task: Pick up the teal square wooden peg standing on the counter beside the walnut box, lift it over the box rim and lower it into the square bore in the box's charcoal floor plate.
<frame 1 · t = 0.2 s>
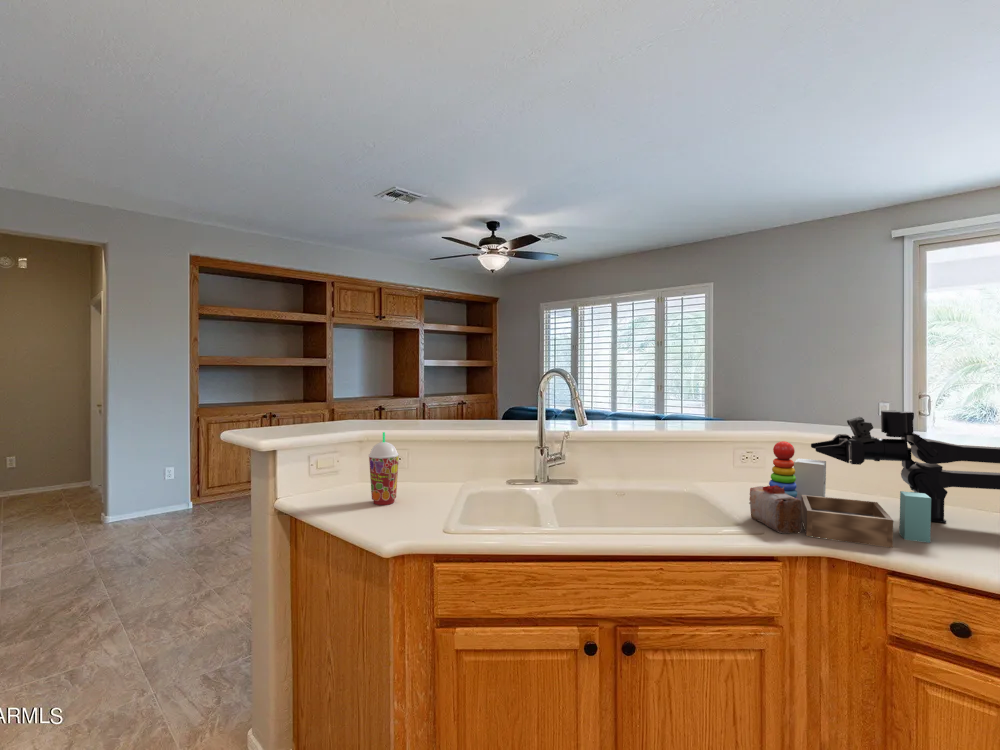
hand: (813, 447, 143), 17 cm above the worktop, tool horizontal, fingers open, 9 cm apart
weathered brown brick: (774, 525, 127), on the worktop
bore box: (842, 531, 122), on the worktop
supplement box: (809, 506, 144), on the worktop
stacking toy: (782, 510, 140), on the worktop
peg: (914, 538, 118), on the worktop
smoothie: (384, 503, 146), on the worktop
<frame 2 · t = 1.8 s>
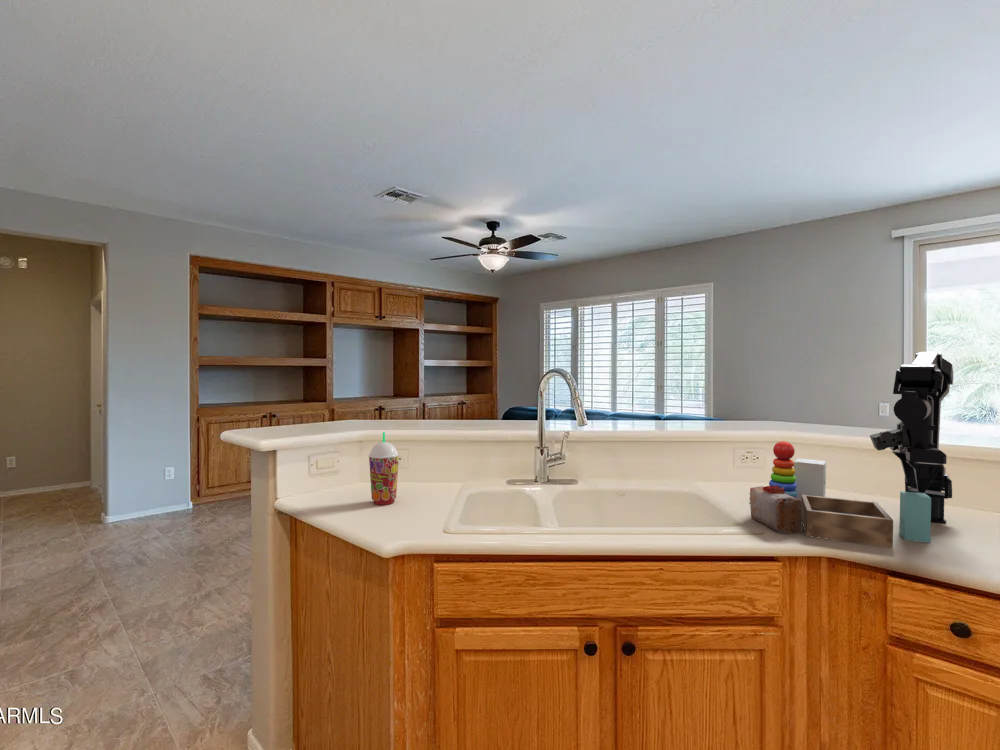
hand: (915, 487, 117), 11 cm above the worktop, tool pointing down, fingers open, 9 cm apart
nothing on the worktop moved.
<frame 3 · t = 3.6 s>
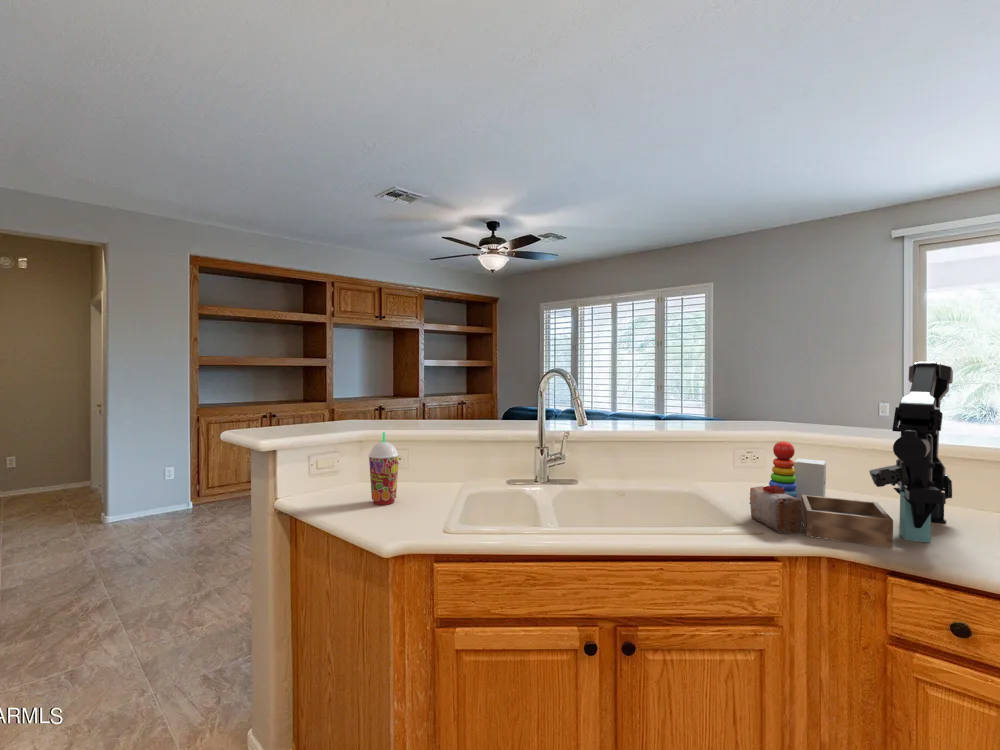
hand: (914, 524, 118), 3 cm above the worktop, tool pointing down, fingers closed on peg, 5 cm apart
peg: (914, 537, 118), on the worktop, touching gripper
everything else where it was.
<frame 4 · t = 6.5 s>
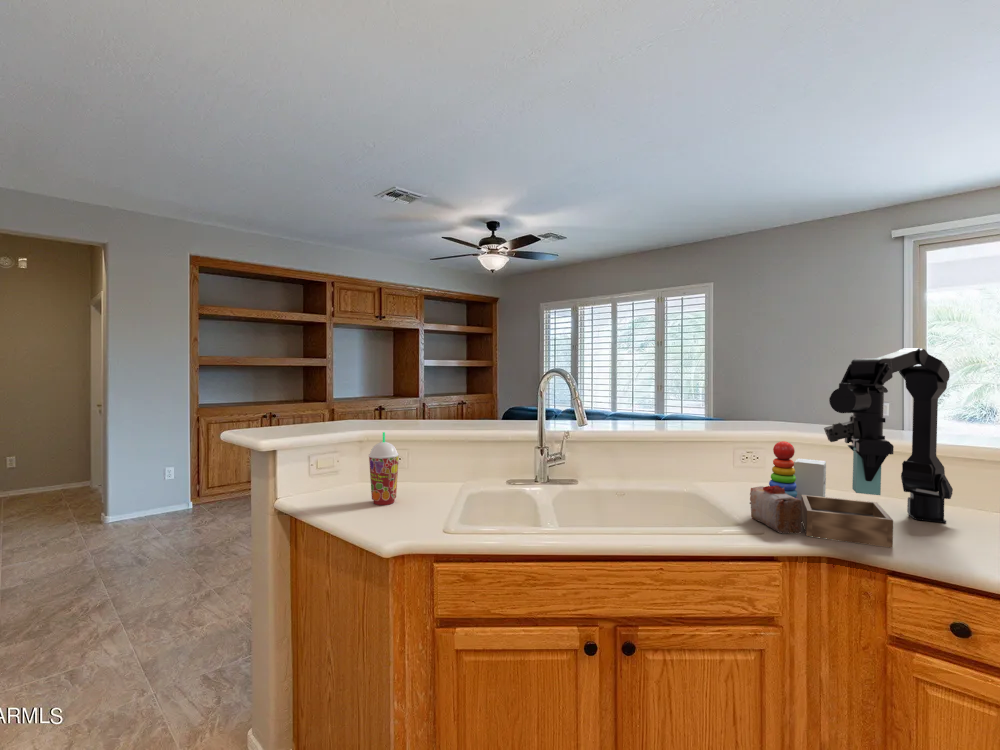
hand: (866, 479, 120), 13 cm above the worktop, tool pointing down, fingers closed on peg, 5 cm apart
peg: (866, 492, 120), point 10 cm above the worktop, touching gripper
everything else where it was.
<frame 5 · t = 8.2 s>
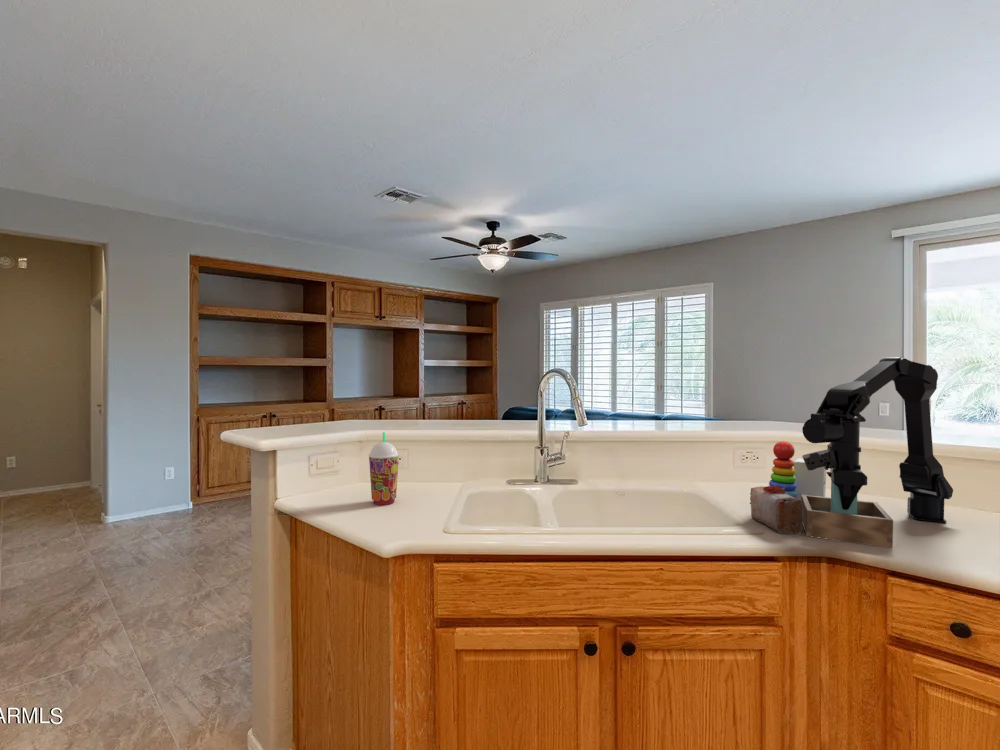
hand: (843, 506, 122), 6 cm above the worktop, tool pointing down, fingers closed on peg, 5 cm apart
peg: (843, 519, 122), point 3 cm above the worktop, touching gripper
everything else where it was.
when the fingers open (5 cm above the worktop, at t = 9.4 s): peg drops 2 cm, resting in bore box.
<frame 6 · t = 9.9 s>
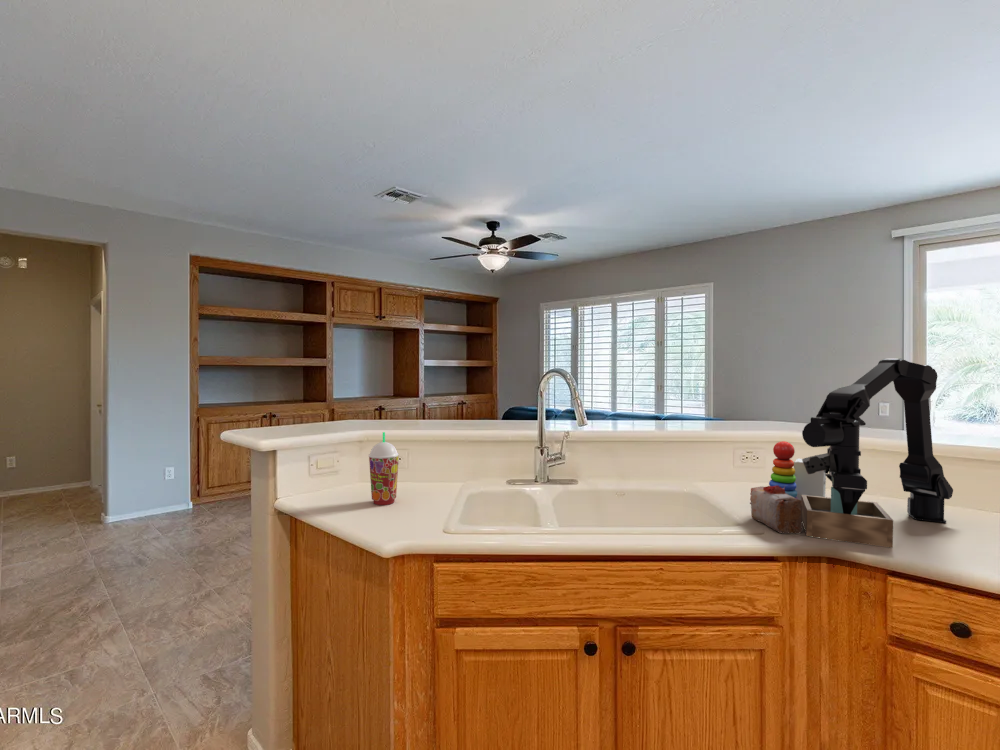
hand: (843, 510, 122), 5 cm above the worktop, tool pointing down, fingers open, 9 cm apart
peg: (843, 531, 122), resting in bore box
everything else where it was.
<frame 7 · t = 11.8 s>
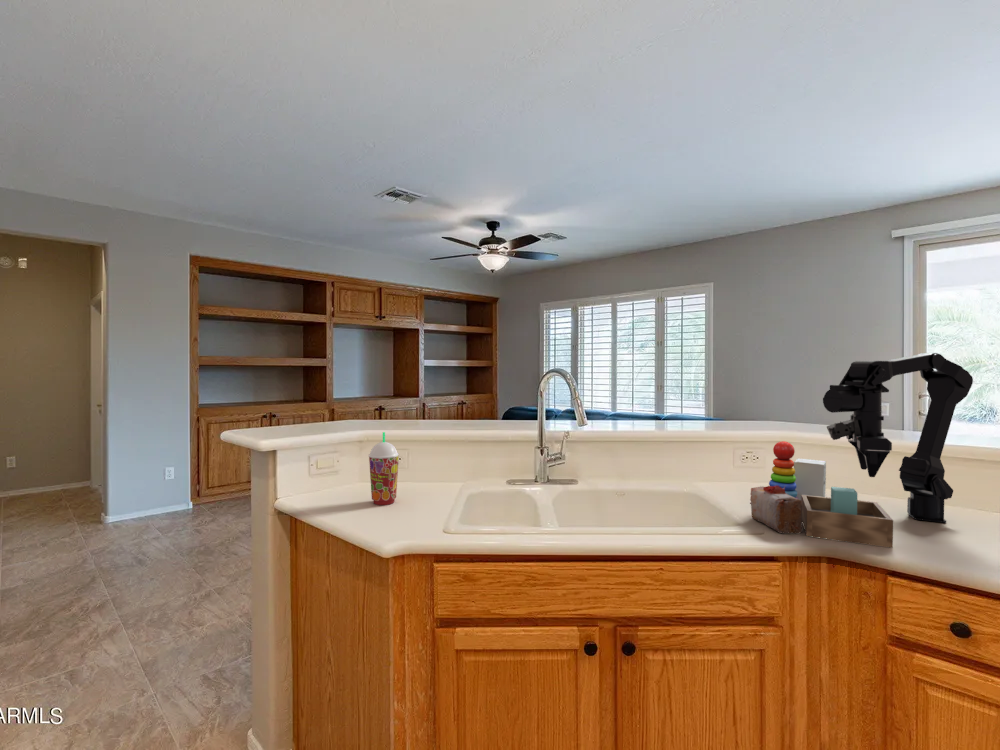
hand: (867, 473, 129), 12 cm above the worktop, tool pointing down, fingers open, 9 cm apart
nothing on the worktop moved.
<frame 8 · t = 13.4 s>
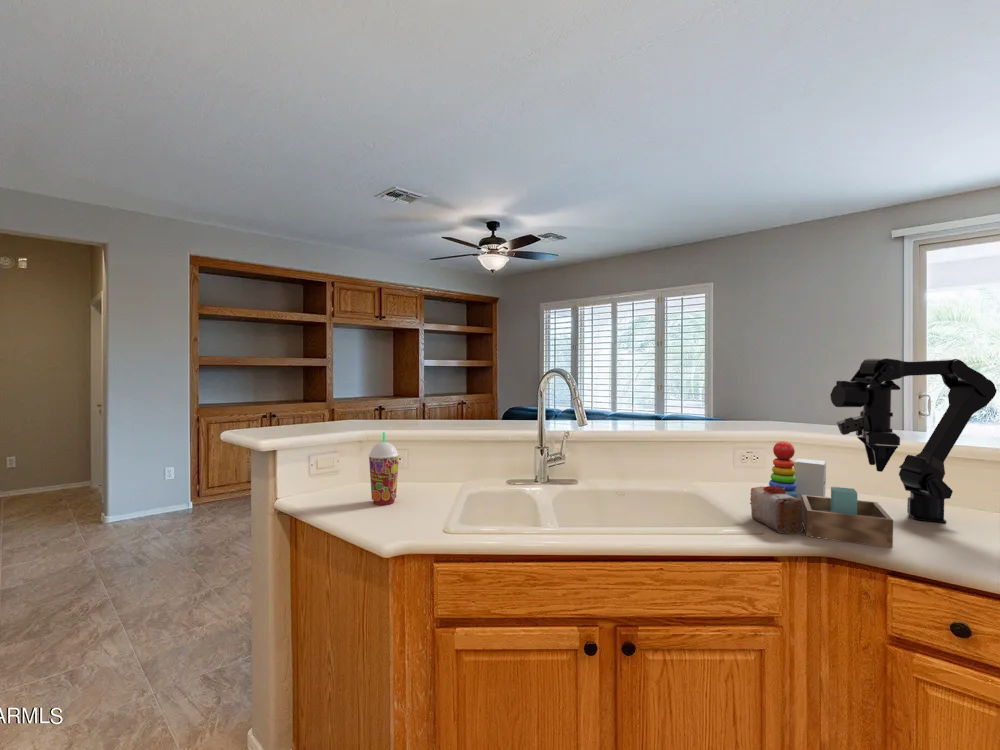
hand: (875, 468, 132), 13 cm above the worktop, tool pointing down, fingers open, 9 cm apart
nothing on the worktop moved.
at the end: peg 0.1 cm off-centre on the bore box, point 0.0 cm above the bore box's base; peg tilted 0°; the gripper is holding nothing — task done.
